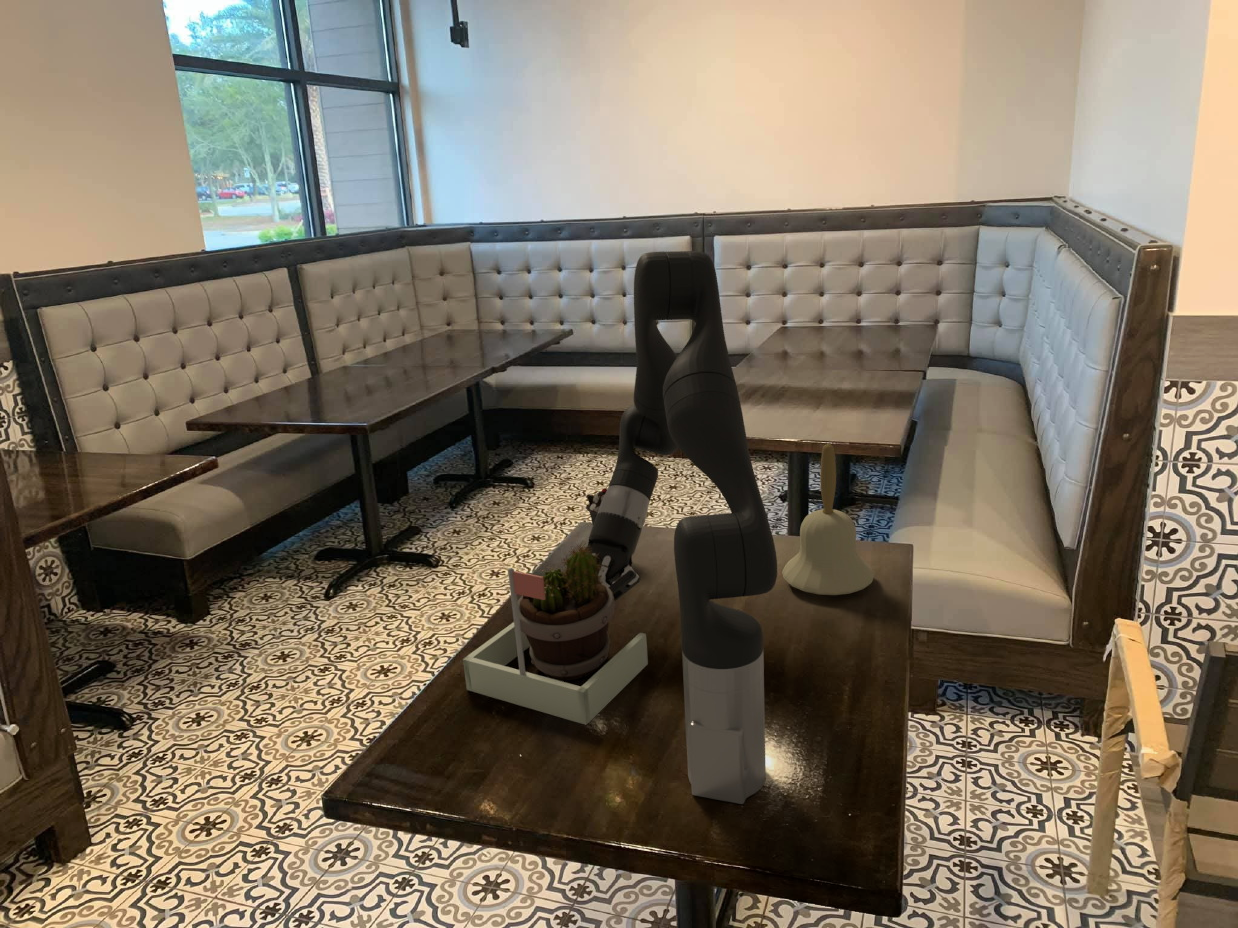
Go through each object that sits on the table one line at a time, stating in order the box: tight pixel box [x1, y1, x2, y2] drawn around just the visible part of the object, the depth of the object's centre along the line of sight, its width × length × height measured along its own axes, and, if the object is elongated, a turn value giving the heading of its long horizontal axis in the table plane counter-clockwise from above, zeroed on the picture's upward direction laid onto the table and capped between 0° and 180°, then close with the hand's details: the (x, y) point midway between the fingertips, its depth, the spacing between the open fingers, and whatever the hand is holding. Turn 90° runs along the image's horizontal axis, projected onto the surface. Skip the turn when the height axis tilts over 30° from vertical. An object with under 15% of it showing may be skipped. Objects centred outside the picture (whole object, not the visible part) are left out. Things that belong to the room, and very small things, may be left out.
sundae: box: [585, 482, 610, 525], centre depth 170 cm, size 7×7×15 cm
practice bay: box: [462, 567, 649, 726], centre depth 128 cm, size 17×20×21 cm
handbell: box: [781, 443, 875, 596], centre depth 151 cm, size 15×15×25 cm
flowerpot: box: [517, 540, 616, 681], centre depth 131 cm, size 14×15×20 cm
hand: (584, 623), depth 136 cm, fingers closed
